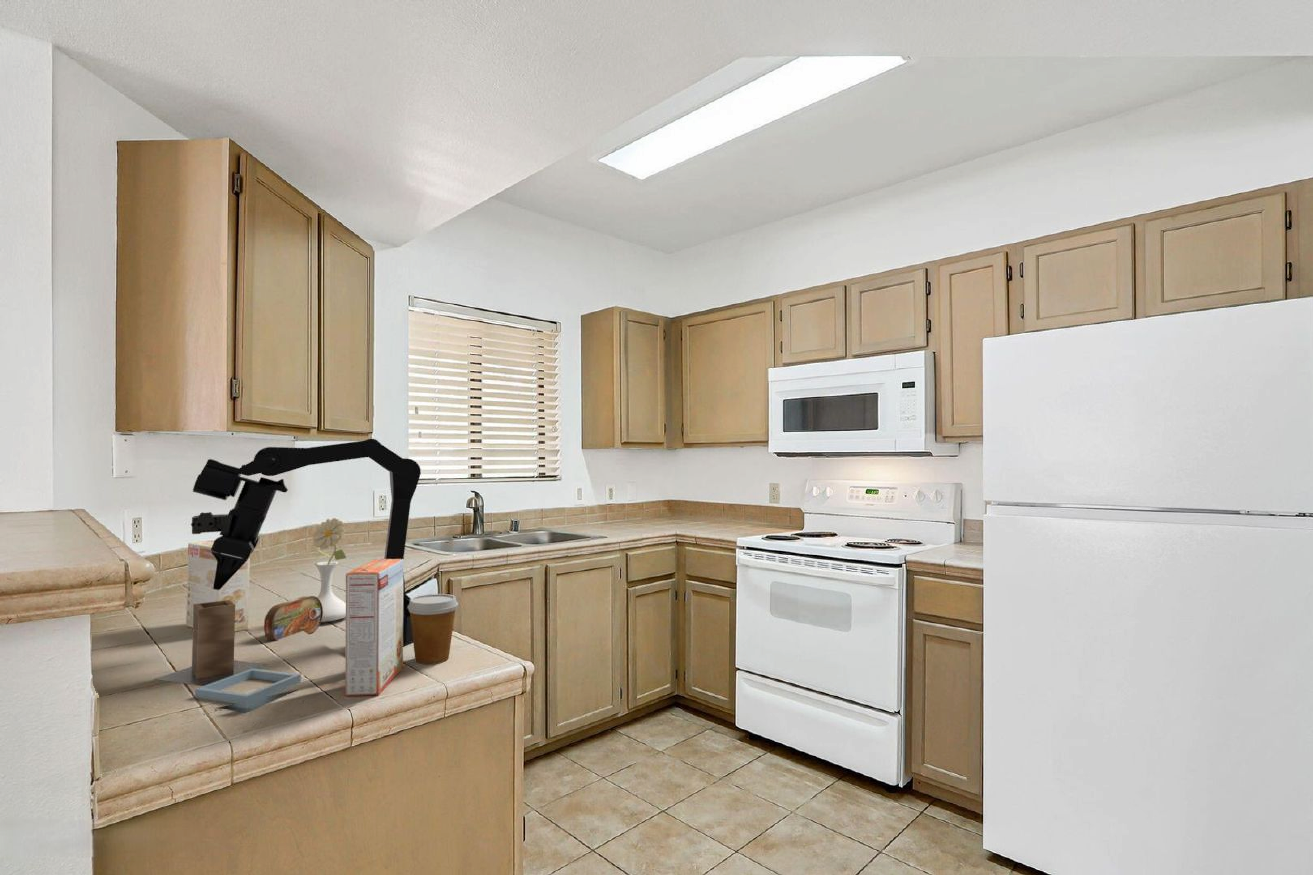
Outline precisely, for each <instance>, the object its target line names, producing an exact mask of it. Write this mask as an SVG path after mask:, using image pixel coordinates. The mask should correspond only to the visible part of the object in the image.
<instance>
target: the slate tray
mask: <svg viewBox="0 0 1313 875" xmlns="http://www.w3.org/2000/svg"><path fill="white" fill-rule="evenodd" d="M251 679H256V680H265V681H273V682H274V683H271V684H269V685H266V686H264V687H261V688H258V689H256V690H254V691H251V692H249V693H242V692H234V691H228V690H224V689H227V688H229V687H232V686H234V685H238V684H241V683H242V682H245V681H247V680H251ZM301 681H302V674H300V673H290V672H283V671H276V670H269V669H268V670H266V669H261V668H257V669H253V668H252V669H249V670H247V671H244V672H241V673H238V674H236V675H233V676H230V677H227V678H224V679H222V680H219V681H216V682H213V683H211V684H208V685H205V686H200V687H198V688H195V689H194V698H196V699H202V700H210V701H216V702H222V703H229V704H227V705H223V706H218V707H217V709H219V710H227V711H234V712H240V713H248V712H252V711H253V710H256V709H257V708H260V707H263V706H265V705H267V704H269V703H272V702H274V701H276V699H277V700H279V699H280V698H284V697H285V696H288V695H290V694H293V693H295V692H298V689H296V690H291V691H286V692H281V691H284V690H286V689H289V688H291V687H293V686H295V685H298V684H301ZM279 692H281V693H279ZM277 693H278V694H277ZM287 694H288V695H287ZM278 698H279V699H278ZM230 703H231V704H230Z"/></svg>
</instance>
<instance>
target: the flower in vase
mask: <svg viewBox="0 0 1313 875" xmlns="http://www.w3.org/2000/svg"><path fill="white" fill-rule="evenodd" d="M345 526H346V524H345V523H344V522H343V521H342V520H339V518H337V517H333V518H331V519H329V518H327V519H326V520H325V521H322V522H320V525H318V526H316V530H314V532H313V537H312V540H313V545H314V546H315V547H317V551H318V552H319V553H320V554H321V555H323V556H325V557H327V558H329V560H328V561H320V562H316V563H315V564H314V565H315V566H316V568H317V569H318V572H319V575H320V591H319V594H318V595H317V596H316V597H317V598H318V599H319V600H320V602H321V604H322V608H323V616H322V620H321V623H326V622H327V623H328V622H335V621H338V620H342V619H344V618H346V602H344V601H343V600H342V599H340V598H338V597H337V596H336V595H335V594H334V593H333V590H332V580H333V579H332V578H333V573H334V570H335V568H336V566H338V563H339V562H338V561H339V560H344V559H347V556H346V553H345V552H344V550H343V549H339V550H337V545H336V544H338V543H339V541H341V540H342V537H343V536H344V535H345V534H346V531H345V529H346V527H345ZM329 547H333V548H334V551H333V553H332V555H331V556H330V555H329V554H328V553H326V552H324V551H323V550H324V549H329ZM333 558H335V560H336V561H332V559H333Z"/></svg>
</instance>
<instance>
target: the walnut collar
mask: <svg viewBox="0 0 1313 875" xmlns="http://www.w3.org/2000/svg"><path fill="white" fill-rule="evenodd" d="M235 633H236V632H235V604H234V603H232V602H231V601H230V600H223V601H215V602H207V603H199V604H194V605H193V628H192V645H191V646H192V647H191V648H192V650H191V653H192V654H191V667H192V672H193V674H194V675H195V676H196V678H197V679H199V678H204V677H209V676H214V675H219V674H224V673H230V672H234V660H235Z"/></svg>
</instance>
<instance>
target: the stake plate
mask: <svg viewBox="0 0 1313 875" xmlns="http://www.w3.org/2000/svg"><path fill="white" fill-rule="evenodd" d="M265 666H268V663H261V662H260V663H259V662H251V661H242V660H235V659H234V672H230V673H224V674H219V675H214V676H209V677H204V678H199V679H197V678H196V676H195V675H194V674H193V672H192V666H190V667H186V668H184V669H179V670H178V671H174V672H172V673H171V672H170V673H168V674H165V675H162V676H159V677H155V678H154V680H157V681H164V682H171V683H177V684H178V683H179V684H186V685H192V686H200V687H202V686H205V685H208V684H211V683H213V682H216V681H219V680H222V679H224V678H227V677H230V676H233V675H236V674H238V673H241V672H244V671H247V670H249V669H252V668H253V669H261V668H262V667H265Z"/></svg>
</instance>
